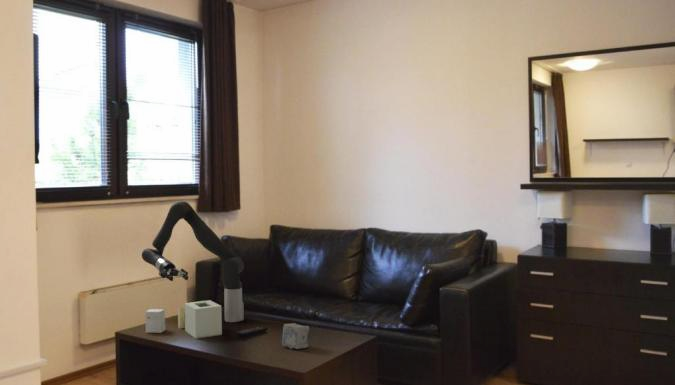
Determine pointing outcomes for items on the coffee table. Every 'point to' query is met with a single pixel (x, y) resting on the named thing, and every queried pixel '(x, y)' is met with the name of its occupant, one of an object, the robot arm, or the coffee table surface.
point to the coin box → (203, 319)
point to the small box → (155, 320)
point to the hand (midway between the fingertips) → (180, 279)
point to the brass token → (181, 317)
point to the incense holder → (295, 336)
